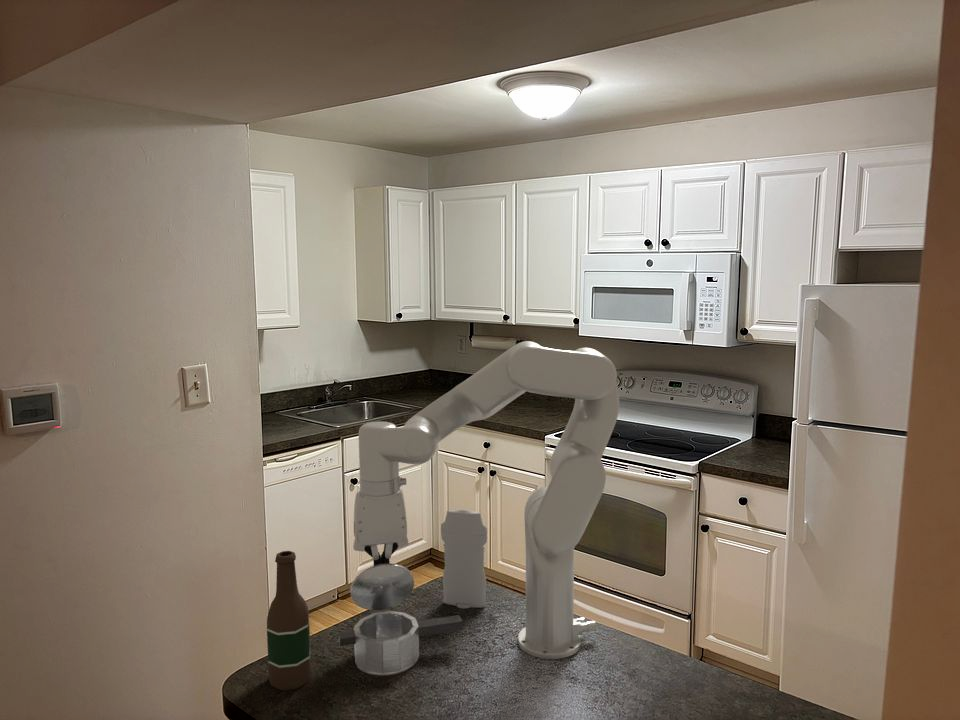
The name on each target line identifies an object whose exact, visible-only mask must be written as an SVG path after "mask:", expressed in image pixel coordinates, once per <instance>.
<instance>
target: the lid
mask: <svg viewBox="0 0 960 720" xmlns="http://www.w3.org/2000/svg"><path fill="white" fill-rule="evenodd" d="M414 586H415V580H414V577H413V574H412V571H410V570H409V568H407V567H405V566H403V565H401V564H398V563H387V564H379V565H375V566H374V565H373V566H370V567H368V568H366V569H364V570H362V571H361V572H360V573H359V574H357V576H355V578H354V580H352V583H351V585H350V596H351V600H352V602H353V603H354V604H355V605H356V606H358V607H360V608H362V609H363V610H364V609H365V610H368V611H381V610H388V609H392V608H393V607H396V606H398V605H400V604H401V603H403V602H404V601H405V600H407V598H409V596H410V595H412V592H413V590H414Z"/></svg>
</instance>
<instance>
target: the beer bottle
mask: <svg viewBox="0 0 960 720" xmlns="http://www.w3.org/2000/svg"><path fill="white" fill-rule="evenodd" d="M296 559H297V556H296V553H295V552H294V551H292V550H283V551H280V552H278V553H276V555H275V559H274V562H275V563H276V584H275V585H276V587H275V588H276V591H275V596H274V598H273V599H272V601H271V603H270V606H269V609H268V613H267V616H266V617H267V618H266V637H267V638H266V639H267V641H266V642H267V643H266V644H267V663H268V664H267V665H268V679H269V680H268V681H269V685H270V686H272V687H273V688H275V689H277V690H279V691H288V690H298V689H299V688H300V687H302V686H304V685H306V684H307V683H309V682H310V679H311V671H312V669H311V667H312V666H311V665H312V659H311V658H312V656H311V654H312V653H311V638H310V637H311V635H310V634H311V633H310V629H311V628H310V613H309V606H308V604H307V602H306V600H305V599H304V597H303V596H302V594H300V592H299V587H298V584H297V583H298V580H297V573H296V564H295V563H296V562H295V561H296Z"/></svg>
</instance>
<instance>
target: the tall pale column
mask: <svg viewBox="0 0 960 720" xmlns="http://www.w3.org/2000/svg"><path fill="white" fill-rule="evenodd" d="M481 514H482V513H481V512H477V511H472V510H467V509H456V510H455V509H452V510H451V509H450V510H447V511H446V515H445V519H444V521H443V522H442V523H441V524H440V535H441V536H440V537H441V540H442V542H444V543H443V545H442V546H443V547H444V548H443V551H444V552H443V553H444V554H443V556H444V557H443V558H444V563H443V564H444V565H445V566H444V569H443V574H442V579H443V581H442V582H443V583H442V584H443V585H442V586H443V604H444V605H448V606H453V607H457V608H459V609H483V608H486V607H487V597H486V596H487V577H486V572H485V571H484V568H485V550H486V548H485V545H486V544H487V543H488V527H487V526H486V525H485V524H484V522H483V518H482V515H481Z"/></svg>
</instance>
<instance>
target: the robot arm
mask: <svg viewBox="0 0 960 720" xmlns="http://www.w3.org/2000/svg"><path fill="white" fill-rule="evenodd" d="M617 373H618V372H617V369H616V366H615V364H614V363H613V361H611V359H610V358H608V356H606V355H604V354H603V353H601V352H600V351H598V350H596V349H594V348H590V347H579V348H577V349H575V350H562V349H556V348H549V347H544V346H541V345H540V344H539V343H537V342H534V341H529V340H527V341H526V340H525V341H521V342H518V343H517V344H515V345H513V346H512V347H510V348H509V349H507V350H506V351H503V353H502V354H500V355H498V357H496V358H495V359H493V360H492V361H490V362H489V363H487V364H486V365H484V366H483V367H482V368H480V369H479V370H478V371H476V372H475V373H474V374H472V375H471V376H469V377H468V378H466V379H465V380H463V381H462V382H460V383H459V384H457V385H455V387H453V388H452V389H450V390H449V391H448V392H446V393H444V394H442V396H440V397H438V398H437V399H435V400H434V401H433V402H431V403H429V404H428V405H427V406H426V407H424V408H423V409H421V410H420V411H418V412H417V413H416V414H414V415H413V416H411V418H409V419H408V420H407V421H406V422H405V424H404V425H403V426H400V427H398V426H396V424H395V423H393V422H388V421H372V422H371V421H370V422H367V423H364V424H362V425H361V426H360V427H359V430H358V458H359V463H358V464H359V491H357V492H355V498H354V509H353V536H354V541H353V546H352V547H353V550H354V551H356V552H365V553H366V554H368V555H369V556H370V557H371V558H372V559H373V566H375V565H379V564H387V563H390V559H391V557H392V555H393V554H394V553H395V552H396V551H397V549H399V548H403V547H406V546H408V545H409V539H408V521H407V519H408V518H407V511H406V509H407V508H406V503H405V502H406V501H405V497H404V493H403V489H402V488H401V487H402V486H406V485H407V477H401V476H400V473H399V468H400V465H399V463H402V464H408V465H422V464H425V463H427V462H429V461H430V460H431V459H432V458H433V457H434V455H435V453H436V451H437V446H438V444H439V443H440V442H441V441H443V440H445V438H447V437H448V436H450V435H451V434H453V433H454V432H456V431H457V430H458V429H460V428H462V427H464V426H466V425H468V424H470V423H472V422H475V421H477V422H478V421H482V420H486V419H489V418H490V417H492V416H493V415H495V414H496V413H498V412H499V411H501V410H502V409H504V408H505V407H506V406H507V405H508V404H510V403H511V402H513V401H514V400H516V399H517V398H518V397H520V396H522V395H523V394H525V393H526V392H528V393H532V394H539V395H544V396H552V397H560V398H561V397H562V398H570V399H575V401H574V405H573V410H572V412H571V413H570V417H569V419H568V422H567V424H566V426H565V428H564V430H563V433H562V435H561V437H560V438H559V441H558V443H557V444H556V446H555V448H554V451H553V453H551V457H550V459H549V472H550V474H551V479H550V482H549V484H548V486H542V487H539V488H537V489H536V490H534V491H533V492H532V493H531V494H530V496H528V499H527V501H526V503H525V506H524V518H523V519H524V534H525V535H524V539H525V627H523V628H522V629H521V630H520V631H519V632H518V635H517V645H518V646H519V647H520V649H521V650H522V651H523V652H525V653H527V654H528V655H529V656H532V657H535V658H538V659H545V660H560V659H564V658H568V657H571V656H573V655H574V654H577V652H578V651H580V648H582V647H581V645H582V637H581V635H582V634H583V633H590V632H595V631H597V623H596V621H595V620H588V621H586V620H585V619H586V618H585V617H577V618H574V606H575V605H574V603H575V602H574V601H575V599H574V596H575V594H574V593H575V592H574V591H575V588H574V587H575V585H574V583H575V579H574V578H575V547H576V546H577V545H578V543H579V542H580V540H581V539H582V537H583V535H584V533H585V531H586V529H587V527H588V525H589V523H590V520H591V519H592V516H593V514H594V513H595V510H596V508H597V506H598V505H599V501H600V499H601V497H602V496H603V492H604V489H605V486H606V479H607V477H606V475H607V474H606V468H605V465H604V463H603V462H602V461H601V460H602V458H603V455H604V453H605V450H606V448H607V445H608V443H609V440H610V439H611V436H612V434H613V431H614V428H615V426H616V423H617V420H618V416H619V410H620V394H619V393H620V391H619V387H618V384H617V380H618V374H617ZM379 545H383V550H382V552H381V554H380V552H379V549H378V548H379V547H378V546H379Z"/></svg>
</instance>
